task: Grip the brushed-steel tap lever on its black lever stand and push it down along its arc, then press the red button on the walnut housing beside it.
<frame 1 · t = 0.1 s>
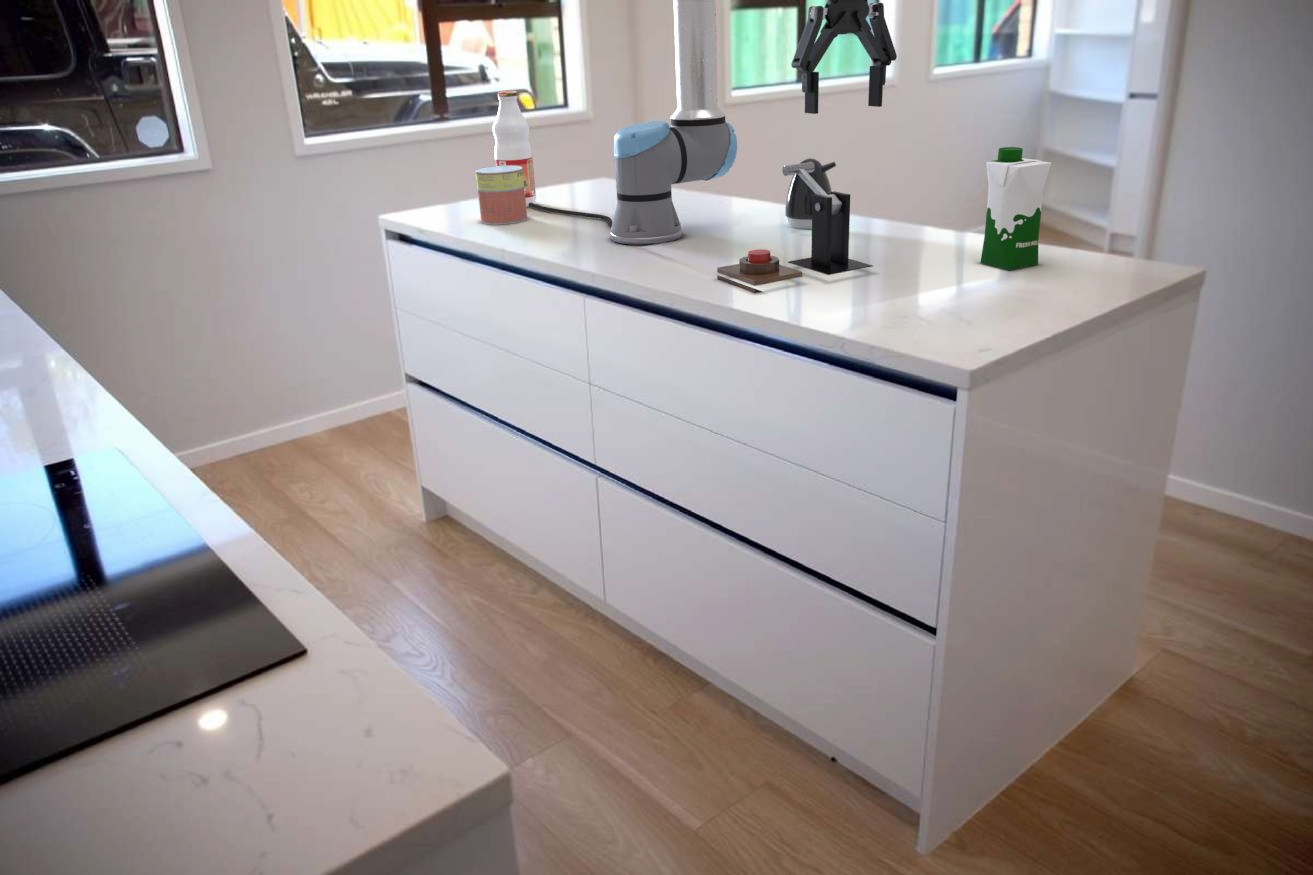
hand: (843, 110, 169), 28 cm above the worktop, tool pointing down, fingers open, 13 cm apart
pump dispenser: (809, 232, 213), on the worktop
button box: (759, 281, 176), on the worktop
canned food: (504, 220, 241), on the worktop
milk carton: (1009, 265, 180), on the worktop
tap lever: (815, 187, 179), point 14 cm above the worktop, hinge at 28.0°
black lever stand: (829, 271, 181), on the worktop
button: (759, 256, 174), point 4 cm above the worktop, slide at 0.1 cm
fruit juice: (518, 206, 258), on the worktop
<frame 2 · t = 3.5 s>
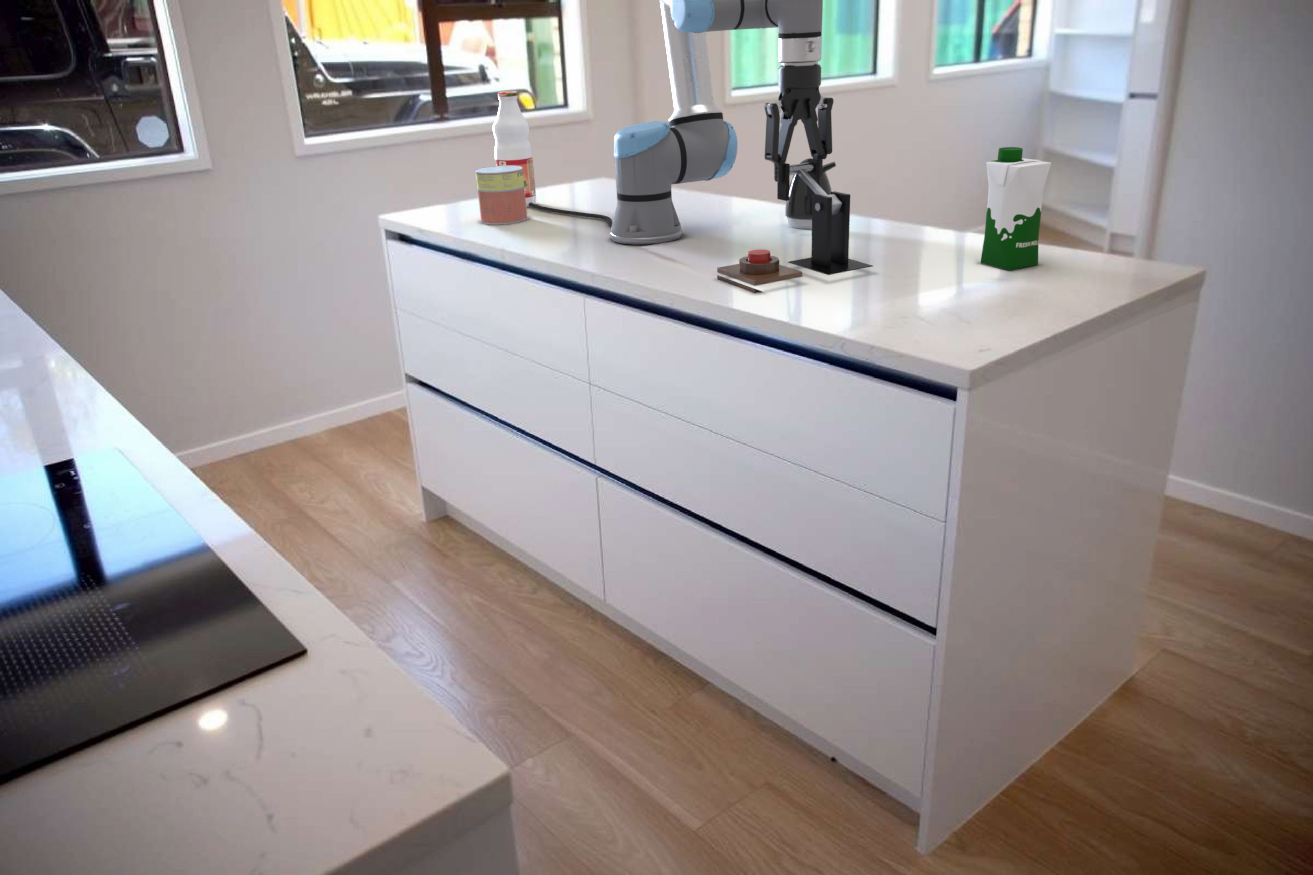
hand: (798, 197, 184), 12 cm above the worktop, tool pointing down, fingers closed on tap lever, 6 cm apart
tap lever: (815, 187, 179), point 14 cm above the worktop, hinge at 28.0°, touching gripper
everything else where it was.
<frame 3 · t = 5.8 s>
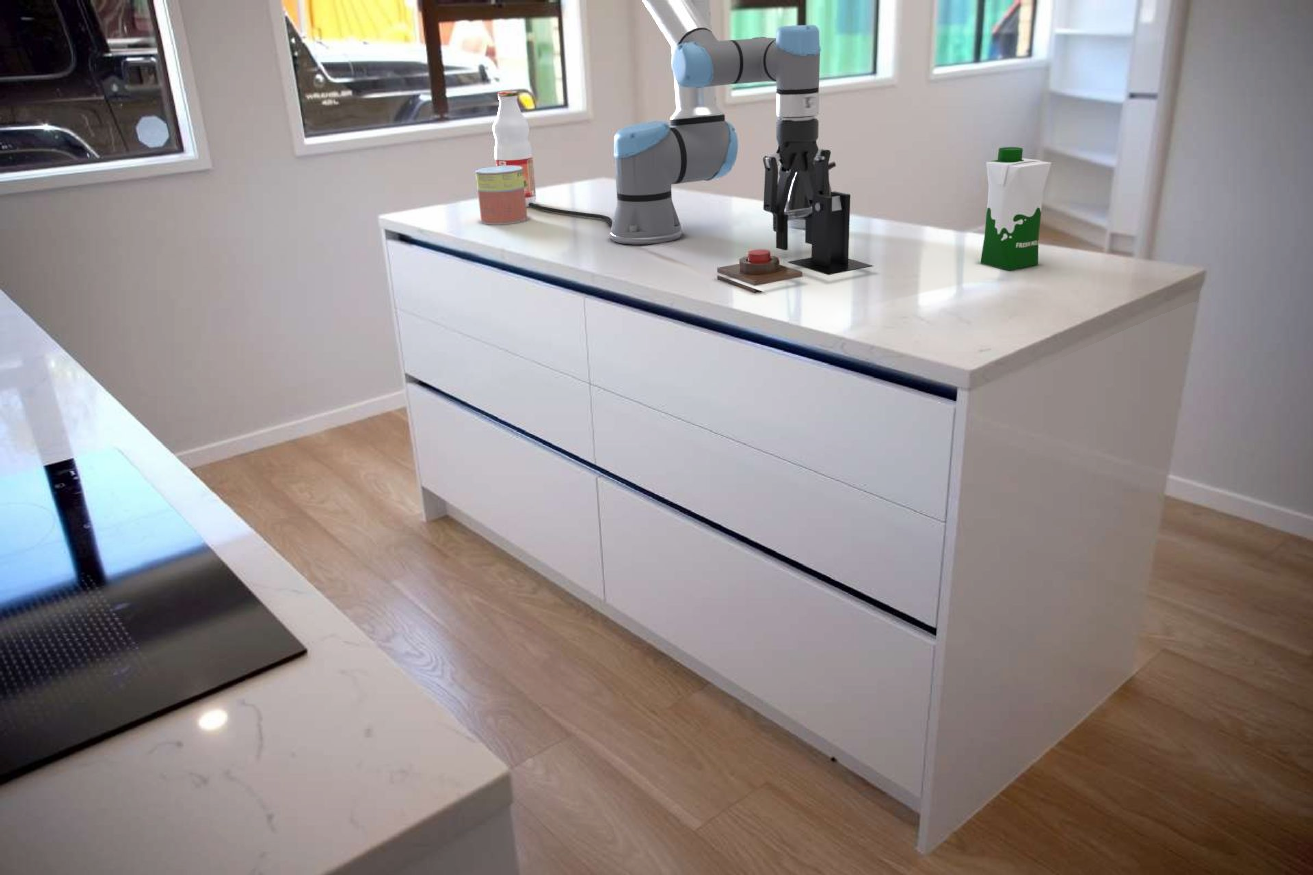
hand: (796, 246, 188), 3 cm above the worktop, tool pointing down, fingers closed on tap lever, 6 cm apart
tap lever: (813, 209, 181), point 10 cm above the worktop, hinge at -17.1°, touching gripper
everything else where it was.
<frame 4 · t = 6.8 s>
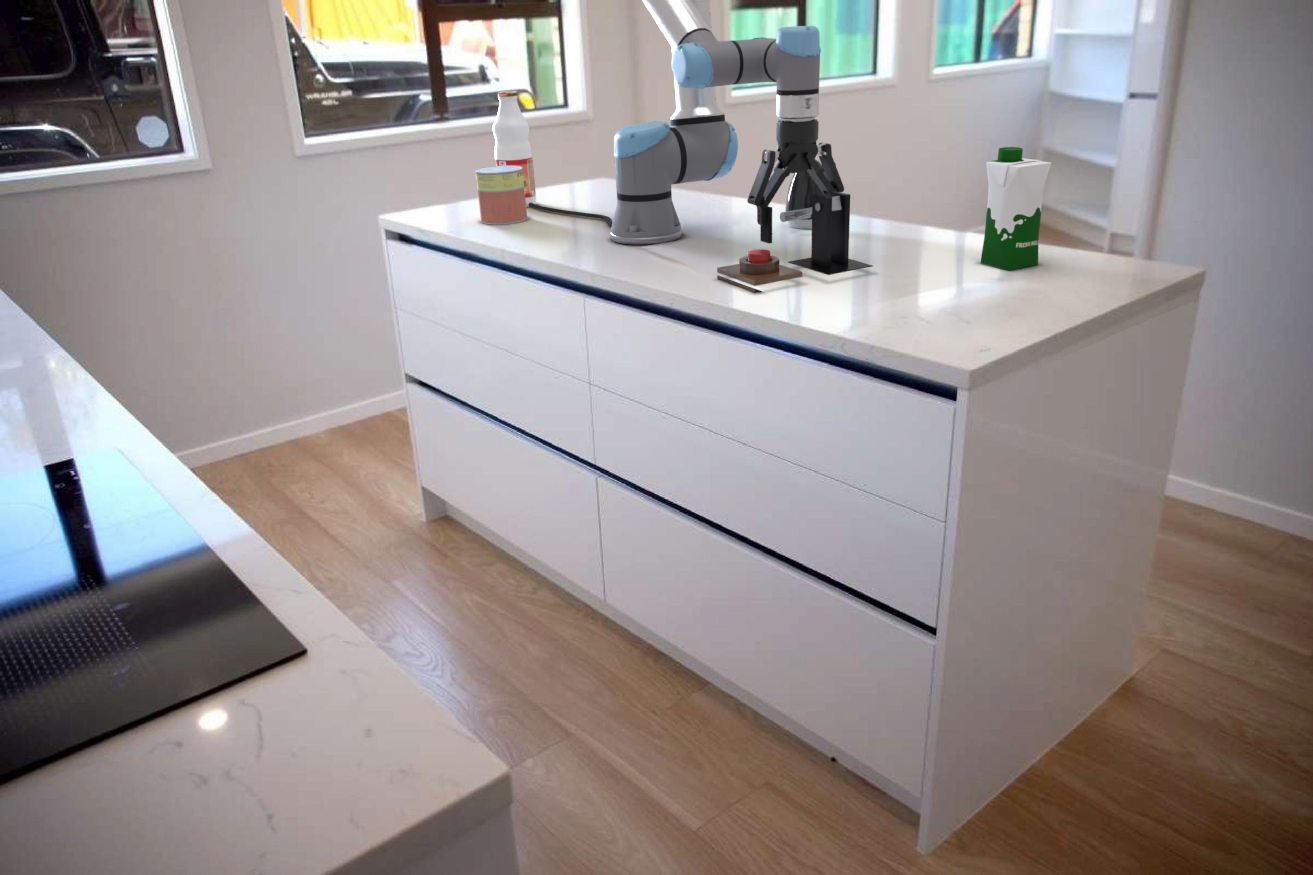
hand: (796, 237, 187), 5 cm above the worktop, tool pointing down, fingers open, 13 cm apart
tap lever: (813, 210, 181), point 10 cm above the worktop, hinge at -17.5°
everything else where it was.
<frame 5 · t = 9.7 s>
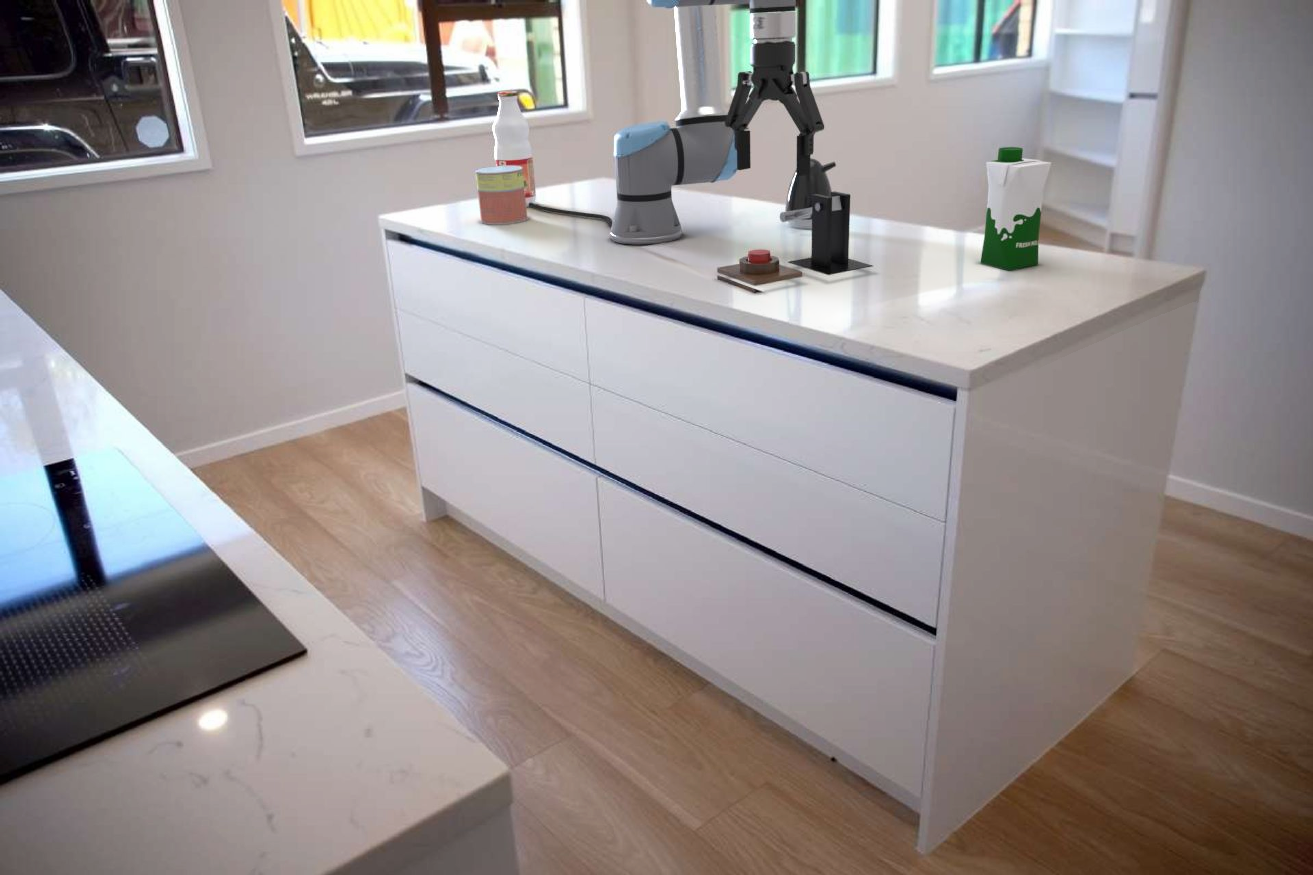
hand: (772, 172, 173), 18 cm above the worktop, tool pointing down, fingers open, 13 cm apart
nothing on the worktop moved.
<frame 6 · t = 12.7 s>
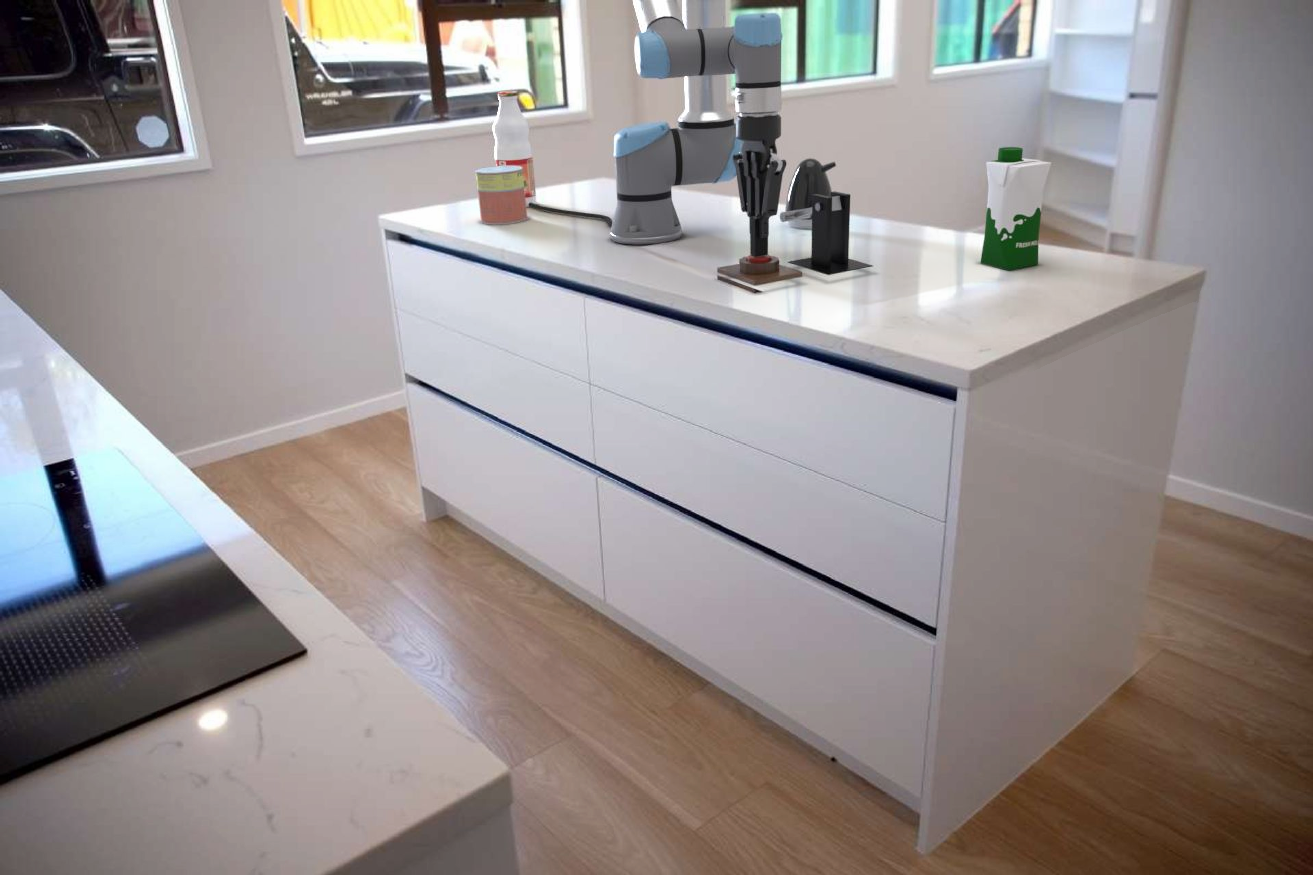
hand: (759, 255, 174), 5 cm above the worktop, tool pointing down, fingers closed
button: (759, 261, 175), point 4 cm above the worktop, slide at -0.7 cm, touching gripper
everything else where it was.
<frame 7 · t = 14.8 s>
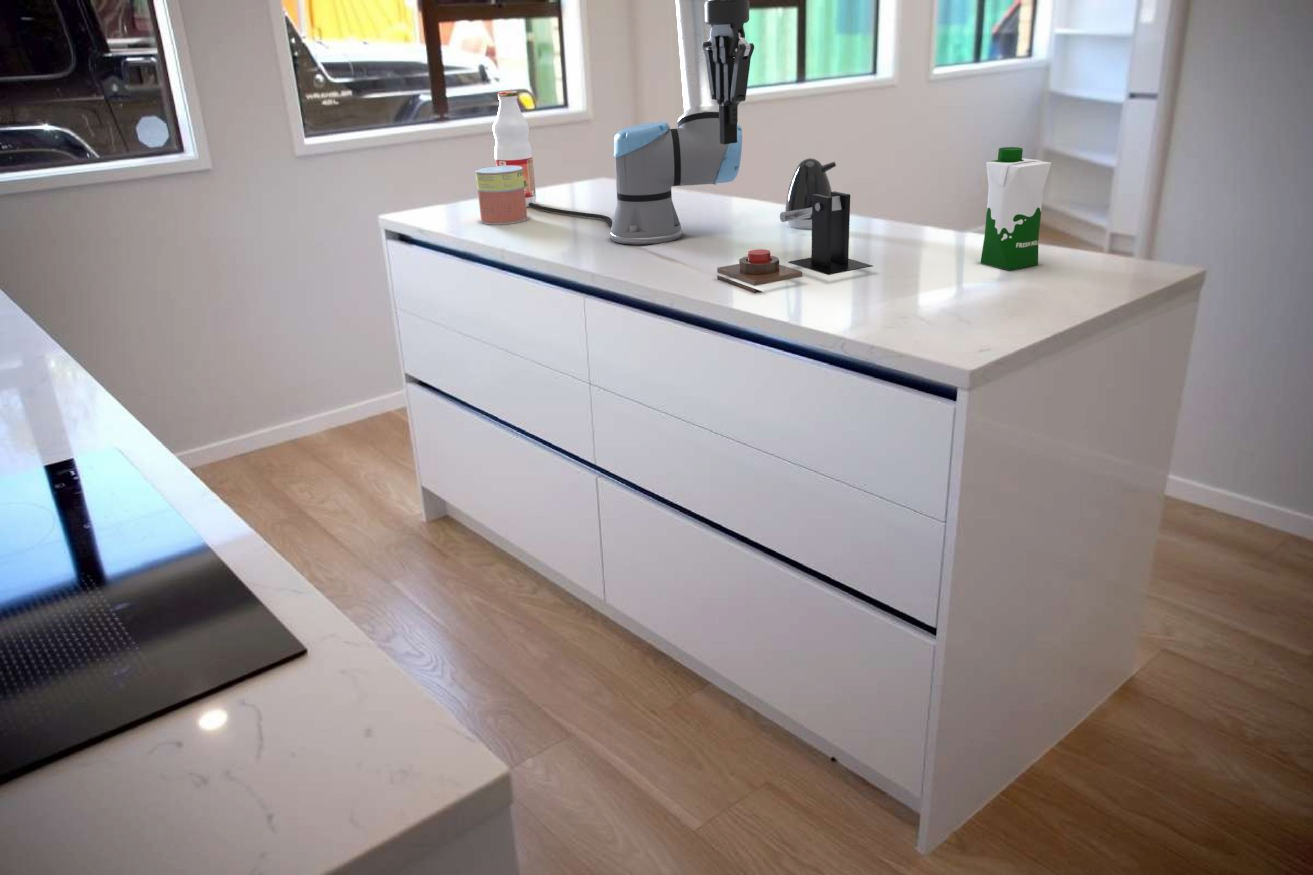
hand: (728, 143, 177), 23 cm above the worktop, tool pointing down, fingers closed
button: (759, 256, 174), point 4 cm above the worktop, slide at 0.1 cm
everything else where it was.
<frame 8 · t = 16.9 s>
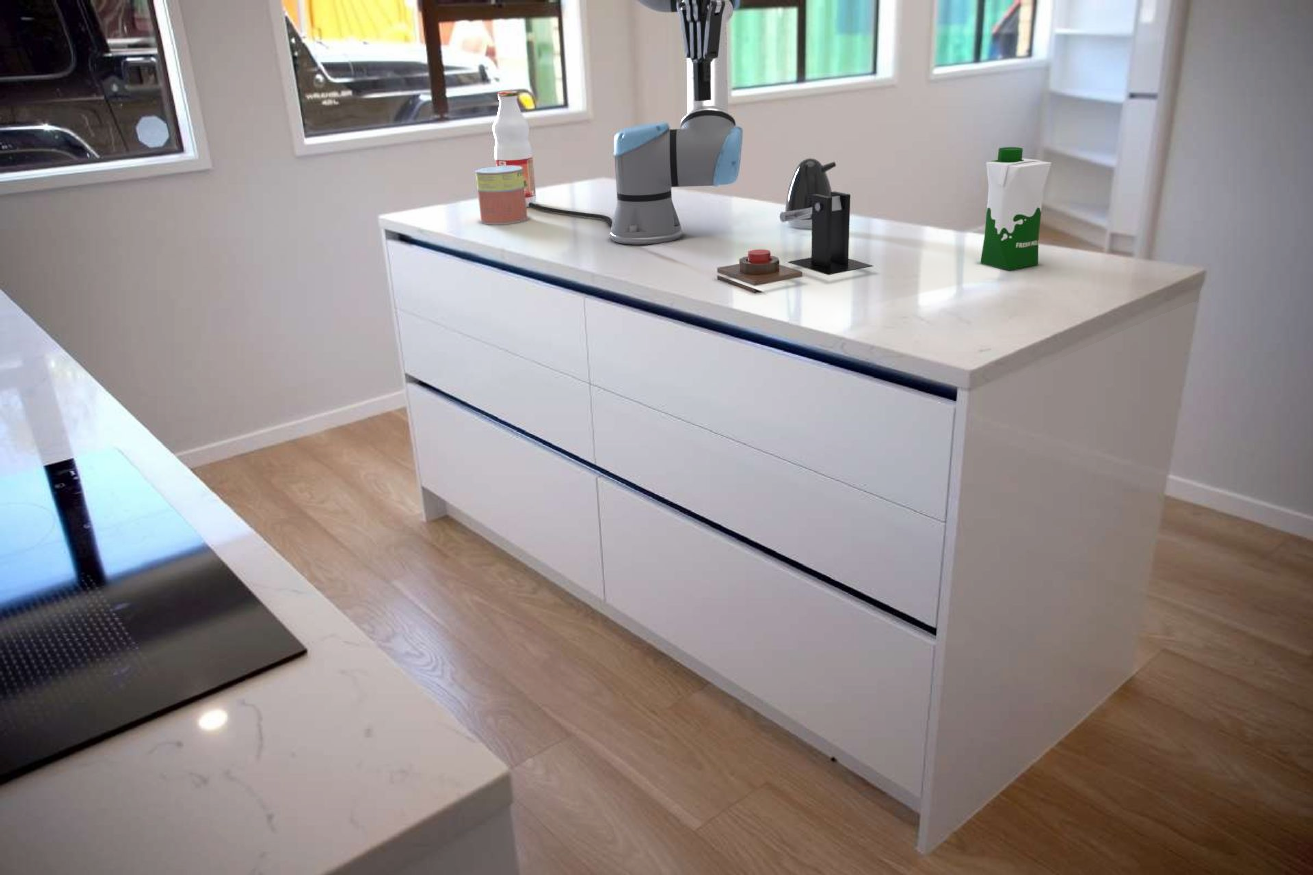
hand: (702, 100, 183), 29 cm above the worktop, tool pointing down, fingers closed
nothing on the worktop moved.
at the end: tap lever at -18° (first picture: +28°); button pushed in 1.0 cm at the most during the clip, back to where it started at the end; button slide at 0.1 cm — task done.
